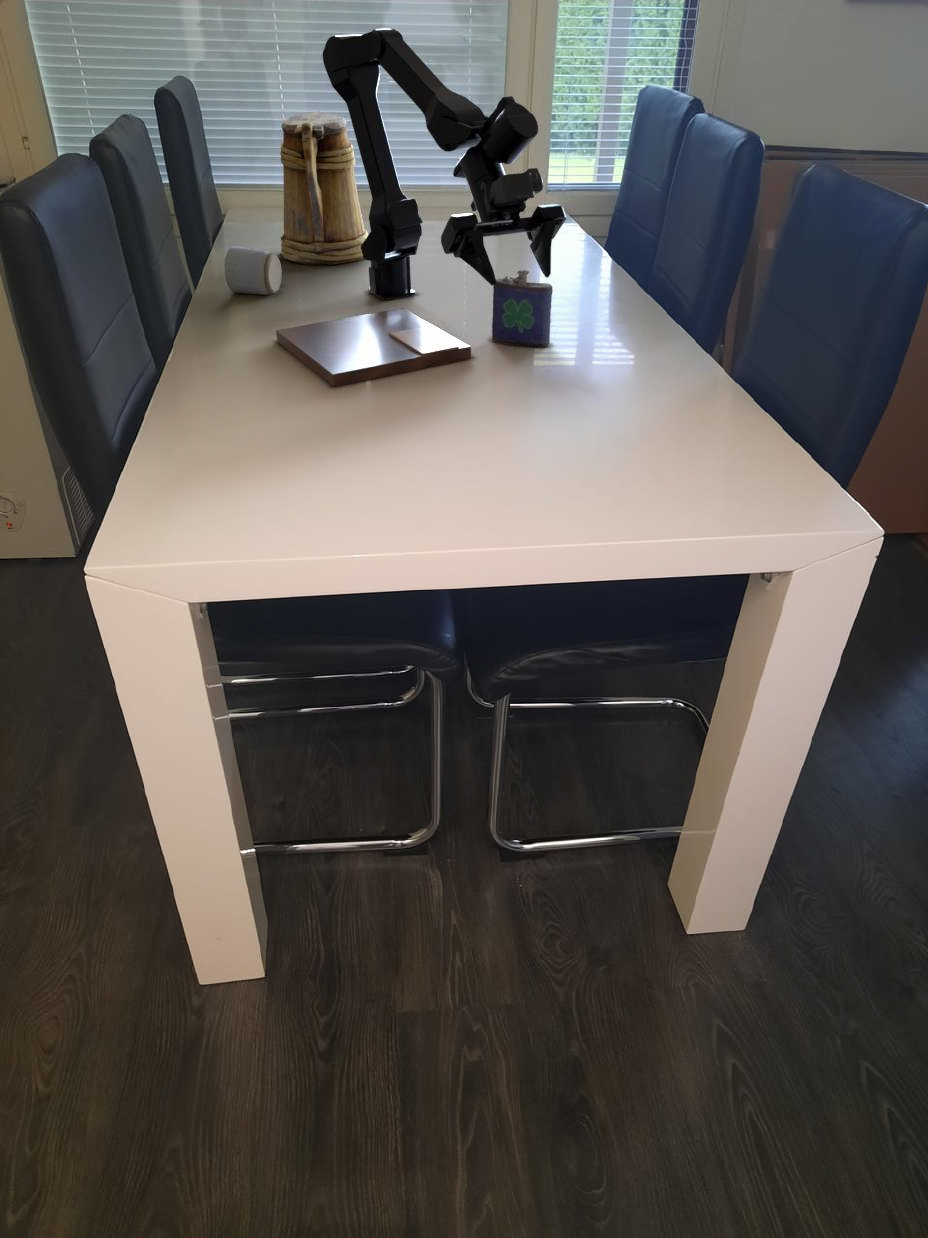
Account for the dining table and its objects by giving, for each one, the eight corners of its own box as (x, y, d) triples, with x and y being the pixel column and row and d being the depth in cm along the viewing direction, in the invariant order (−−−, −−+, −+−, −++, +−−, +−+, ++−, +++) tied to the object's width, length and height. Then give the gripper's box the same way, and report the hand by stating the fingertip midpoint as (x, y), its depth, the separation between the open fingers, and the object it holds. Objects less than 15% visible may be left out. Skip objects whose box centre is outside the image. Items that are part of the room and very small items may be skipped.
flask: (551, 343, 132) (555, 270, 125) (545, 349, 130) (549, 275, 123) (495, 336, 134) (496, 264, 128) (488, 342, 132) (489, 269, 126)
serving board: (402, 318, 142) (402, 305, 141) (471, 358, 127) (471, 344, 125) (277, 341, 133) (275, 327, 132) (334, 387, 118) (332, 372, 116)
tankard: (369, 242, 184) (361, 108, 170) (370, 271, 166) (361, 123, 151) (285, 244, 183) (268, 109, 168) (276, 274, 164) (257, 124, 149)
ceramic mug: (270, 300, 150) (264, 253, 146) (227, 297, 152) (220, 251, 147) (292, 284, 159) (287, 240, 154) (251, 282, 160) (245, 238, 156)
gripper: (447, 152, 118) (482, 254, 116) (564, 142, 124) (599, 239, 122) (426, 204, 128) (458, 299, 126) (535, 193, 134) (567, 283, 133)
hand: (521, 279), depth 127 cm, fingers open, 9 cm apart
